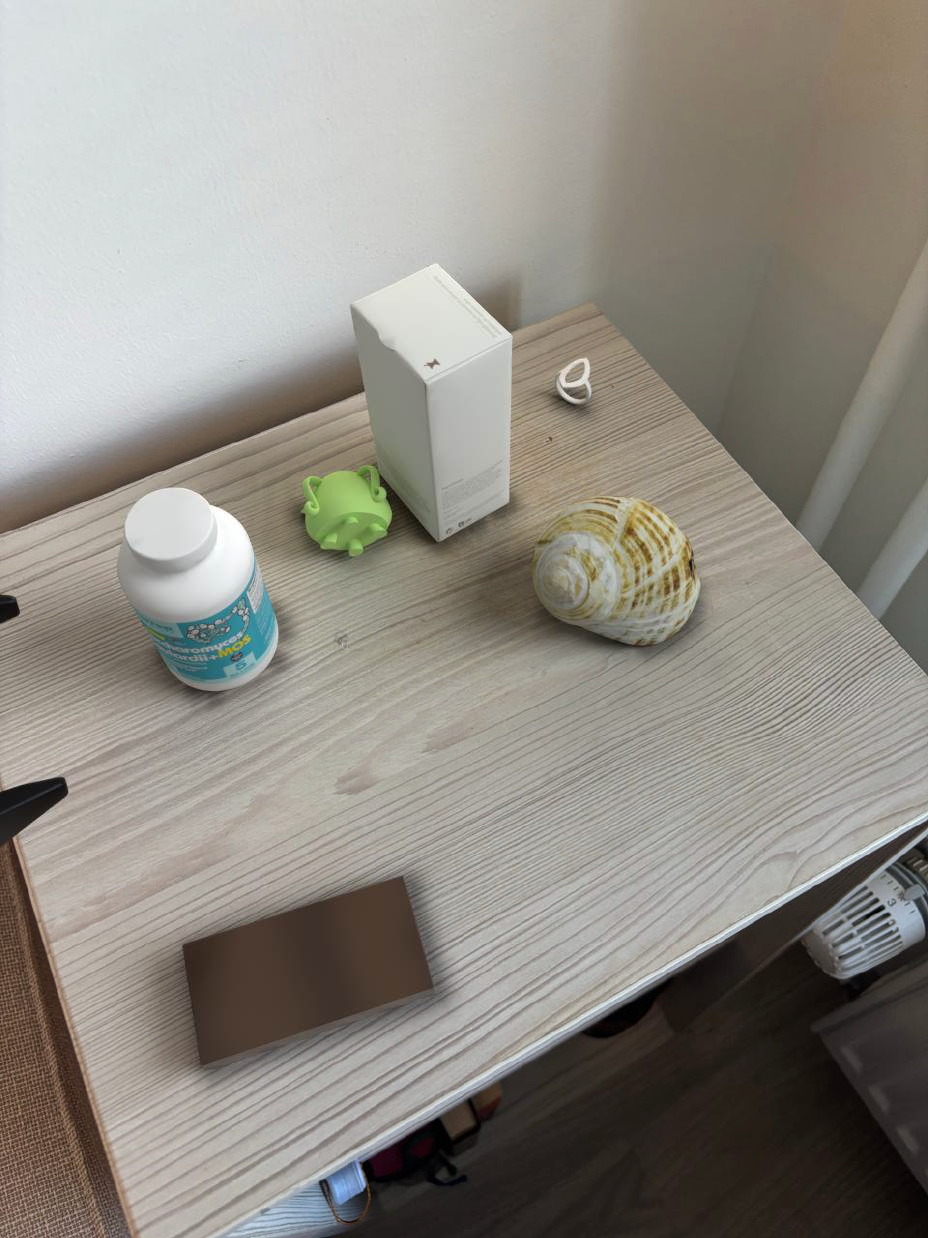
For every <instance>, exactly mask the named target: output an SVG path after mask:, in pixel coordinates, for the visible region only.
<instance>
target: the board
mask: <svg viewBox="0 0 928 1238" xmlns="http://www.w3.org/2000/svg"><path fill="white" fill-rule="evenodd" d="M411 901H412V900H411V898H410V895H409V891H408V887H407V884H406V881H405V877H404V875H403V874H402V875H399V876H395V877H392V878H389V879H386V880H383V881H380V882H377V883H374V884H373V883H372V884H371V885H367V886H363V887H361V888H357V889H355V890H351V891H348V892H345V893H341V894H338V895H336V896H332V897H329V898H325V899H322V900H319V901H317V902H313V903H309V904H307V905H303V906H300V907H296V908H294V909H291V910H287V911H285V912H281V913H278V914H274V915H271V916H269V917H265V918H262V919H259V920H256V921H252V922H249V923H246V924H243V925H240V926H237V927H234V928H230V929H227V930H224V931H221V932H218V933H215V934H212V935H208V936H204V937H202V938H199V939H196V940H193V941H189V942H186V943H183V944H182V946H181V947H182V954H183V960H184V967H185V973H186V978H187V979H186V980H187V985H188V993H189V999H190V1004H191V1012H192V1018H193V1023H194V1030H195V1037H196V1042H197V1049H198V1056H199V1061H200V1066H202V1067H205V1068H208V1069H212V1070H215V1069H218V1068H221V1067H224V1066H227V1065H231V1064H234V1063H236V1062H239V1061H243V1060H246V1059H249V1058H251V1057H254V1056H257V1055H260V1054H263V1053H267V1052H270V1051H272V1050H275V1049H278V1048H280V1047H284V1046H287V1045H290V1044H292V1043H293V1044H294V1043H295V1042H298V1041H301V1040H304V1039H307V1038H311V1037H314V1036H316V1035H319V1034H323V1033H325V1032H328V1031H331V1030H335V1029H337V1028H340V1027H343V1026H346V1025H349V1024H352V1023H355V1022H359V1021H361V1020H364V1019H367V1018H370V1017H373V1016H376V1015H379V1014H382V1013H385V1012H387V1011H390V1010H394V1009H397V1008H399V1007H403V1006H405V1005H408V1004H411V1003H414V1002H418V1001H420V1000H423V999H426V998H429V997H432V996H435V995H436V994H437V993H436V987H435V983H434V980H433V976H432V972H431V968H430V965H429V962H428V958H427V954H426V951H425V947H424V944H423V942H422V936H421V934H420V929H419V926H418V923H417V920H416V919H417V918H416V915H415V912H414V909H413V905H412V902H411Z"/></svg>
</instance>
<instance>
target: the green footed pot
mask: <svg viewBox="0 0 928 1238" xmlns="http://www.w3.org/2000/svg"><path fill="white" fill-rule="evenodd" d="M369 472H370V473H369ZM368 473H369V474H370V479H369V478H367V477H366V476H367V474H368ZM380 478H381V477H380V473H379V471H378V468H377V467H375V466H373V465H369V464H366V465H362V466H360V467H359V469H358V470H357V471H351V470H336V471H333V472H330V473H328V474H327V475H325V476H324V477H323V478H320V477H318V476H315V475H311V476H308V477H305V479H304V480H303V481H302V483H301V490H302V493H303V496H304V498H305V500H306V502H305V504H304V506H303V509H302V510H300V513H301V514H304V515H305V516H304V517H305V519H304V521H305V528H306V529H305V530H306V532H307V534H308V536H310V538H311V539H313V540H314V541H315V542H316V543H318V544H319V545H320V549H322V550H334V551H335V550H336V551H348V555H349V556H350V557H358V556H361V555H363V553H364V552H365V551H364V547H366V546H369V545H371V544H372V543H374V542H375V541H377V540H379V539H382V538H384V537H386V536H388V531H387V530H388V529H389V526H390V524H391V522H392V518H393V512H392V508H391V505H390V504H389V501H388V500H387V498H386V497H387V491H386V489H385V488H384V487H383V486H380V483H381V481H380ZM311 485H313V486H314V487H313V488H311Z"/></svg>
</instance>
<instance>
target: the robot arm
mask: <svg viewBox="0 0 928 1238" xmlns="http://www.w3.org/2000/svg"><path fill="white" fill-rule="evenodd" d="M20 615H21V610H20V606H19V602H18V599H17V597H16V596H14V595H11V594H2V593H0V625H1V624H4V623H5V622H8V621H10V620H12V619H15V618H18V617H19V616H20ZM68 795H69V787H68V783H67V780H66V778H65V777H64V776H56V777H51V778H46V779H42V780H38V781H33V782H28V783H23V784H20V785H17V786H13V787H10V788H7V789H5V790H1V791H0V848H2V847H3V846H4V845H5V844H7V843H8V842H9V841H11V840H12V839H13V838H15V837H16V836H17V835H18V834H20V833H22V831H24V830H25V829H26V828H28V827H29V826H30V825H32V824H33V823H34V822H35V821H36V820H38V819H39V818H41V817H42V816H43V815H44V814H45V813H47V812H48V811H49V810H51V809H52V808H54V807H55V806H56V805H57V804H58V803H60V802H61V801H63V800H64V799H65V798H66V797H67V796H68Z"/></svg>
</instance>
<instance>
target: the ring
mask: <svg viewBox="0 0 928 1238" xmlns="http://www.w3.org/2000/svg"><path fill="white" fill-rule="evenodd" d="M582 364H583V373H582V375H581V377H580V378H579V379H577V380H575V381H571V382H567V381H566V376H567V375H568V373H569V372H570V371H571V370H572V369H573V368H575V367H576V366H578V365H582ZM590 374H591V365H590V361H589V360H588V357H582V358H577V359H575V360H574V361H573V362H571V363H569V364H568V365H566V366H565V367H564V368H562V369H561V370H559V371H558V373H557V374H556V375H555V376H554V380H553V381H554V383H553V384H554V387H555V390H556V392H557V393H558V394H559V396H560V397H561V398H562V399H563V400H565V401H566V402H568V403H570V404H573V405H579V406H580V405H584V404H586V403H587V402H588V401H589V400H590V398H591V396H592V385H591V383H590V382H589V377H590ZM582 385H583V386H584V388H585V390H586V397H585V398H582V399H578V398H575V397H572V396H570V395H569V394H567V392H565V391H564V389H575V388H578V387H581V386H582Z"/></svg>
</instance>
